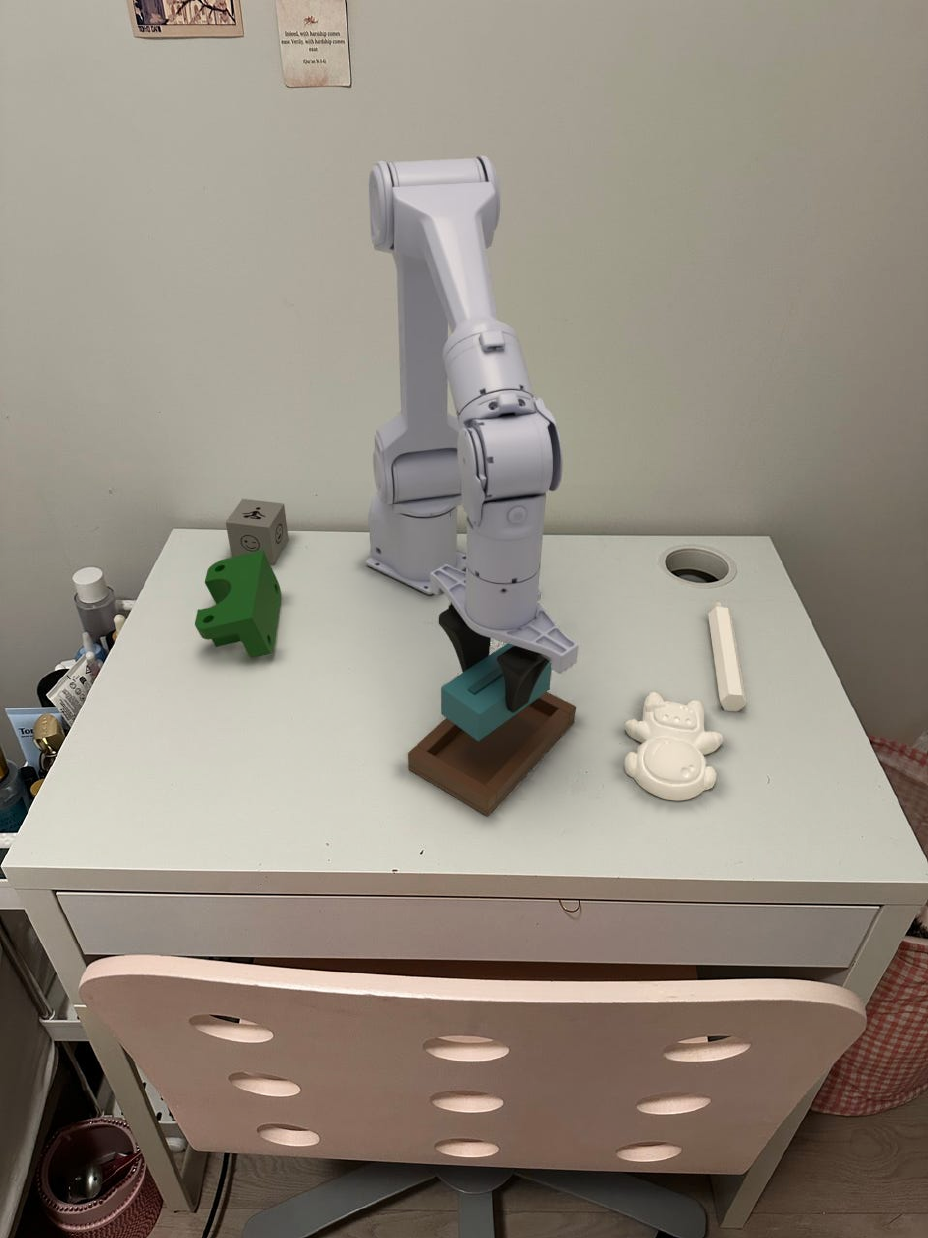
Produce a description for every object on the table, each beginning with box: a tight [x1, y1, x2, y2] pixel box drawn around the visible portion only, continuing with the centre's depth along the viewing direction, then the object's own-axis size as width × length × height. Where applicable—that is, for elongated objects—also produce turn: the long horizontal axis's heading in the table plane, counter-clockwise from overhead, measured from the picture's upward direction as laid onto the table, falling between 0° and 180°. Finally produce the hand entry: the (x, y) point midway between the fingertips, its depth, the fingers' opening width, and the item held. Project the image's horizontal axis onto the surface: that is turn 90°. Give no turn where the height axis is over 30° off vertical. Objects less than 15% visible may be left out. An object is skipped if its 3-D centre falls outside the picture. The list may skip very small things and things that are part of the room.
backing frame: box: [407, 691, 577, 817], centre depth 83 cm, size 14×9×2 cm, turn 143°
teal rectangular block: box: [440, 643, 553, 741], centre depth 80 cm, size 9×4×4 cm, turn 135°
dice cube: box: [225, 498, 290, 566], centre depth 106 cm, size 5×5×5 cm
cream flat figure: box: [623, 691, 724, 801], centre depth 83 cm, size 9×12×3 cm
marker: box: [708, 599, 747, 712], centre depth 93 cm, size 3×2×16 cm
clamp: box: [194, 550, 282, 659], centre depth 94 cm, size 12×6×9 cm, turn 178°
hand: (496, 690), depth 80 cm, fingers closed on teal rectangular block, 4 cm apart
